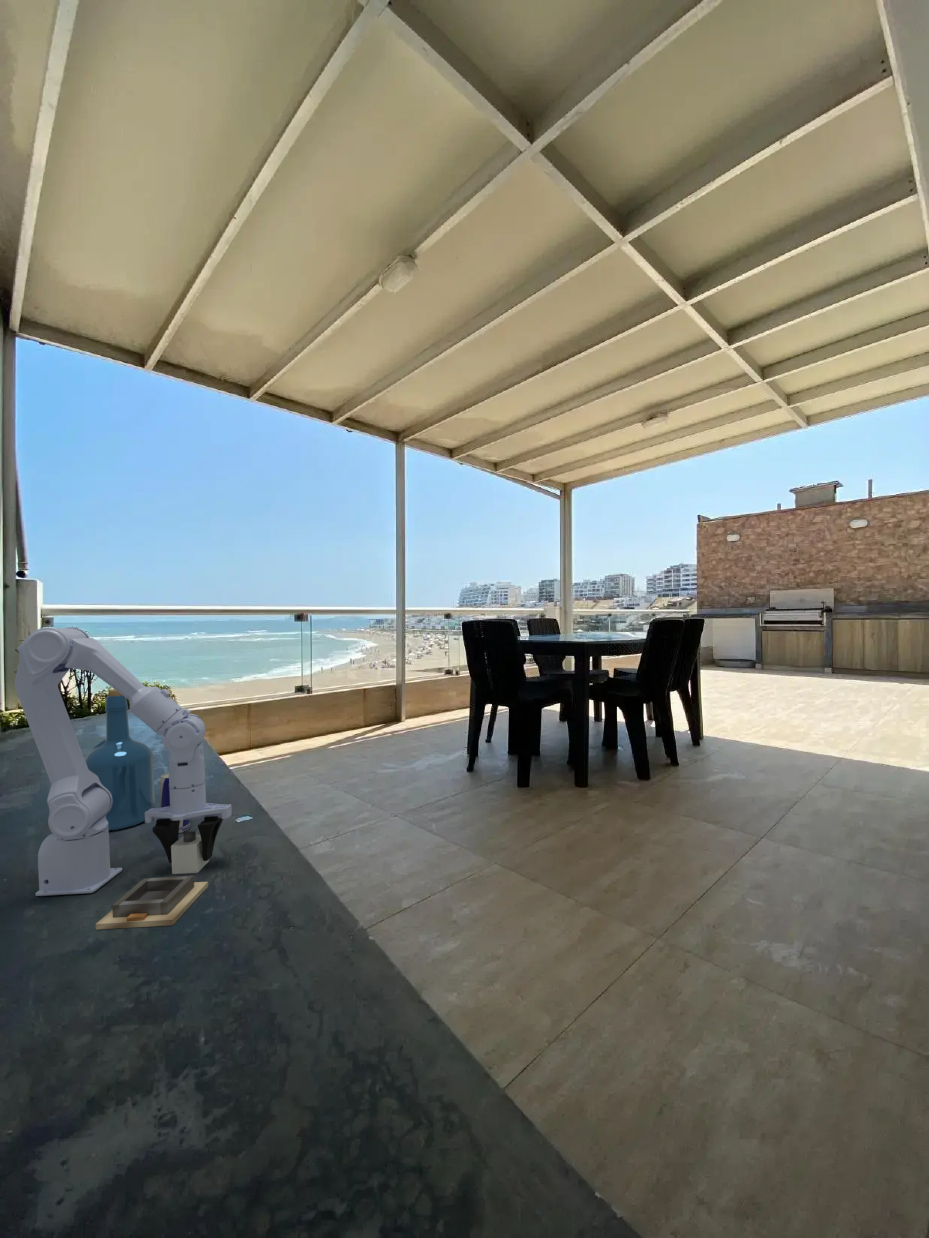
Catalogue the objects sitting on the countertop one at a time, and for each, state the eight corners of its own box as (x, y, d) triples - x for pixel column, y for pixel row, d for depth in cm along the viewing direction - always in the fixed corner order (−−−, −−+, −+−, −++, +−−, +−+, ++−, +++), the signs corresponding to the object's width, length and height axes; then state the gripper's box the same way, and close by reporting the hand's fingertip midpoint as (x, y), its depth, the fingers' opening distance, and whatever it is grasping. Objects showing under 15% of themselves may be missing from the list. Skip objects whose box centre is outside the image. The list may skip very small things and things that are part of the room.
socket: (95, 929, 76) (95, 911, 76) (141, 890, 87) (140, 874, 87) (172, 925, 76) (172, 907, 76) (208, 886, 87) (207, 870, 87)
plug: (172, 874, 92) (170, 837, 92) (185, 862, 96) (183, 827, 96) (197, 872, 92) (195, 836, 92) (209, 861, 96) (207, 826, 96)
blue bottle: (167, 816, 120) (161, 686, 120) (102, 838, 109) (96, 694, 109) (137, 807, 128) (131, 684, 128) (73, 826, 117) (67, 692, 117)
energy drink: (178, 836, 109) (175, 778, 109) (155, 834, 110) (153, 777, 110) (196, 825, 114) (193, 770, 114) (174, 824, 115) (172, 770, 115)
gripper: (133, 793, 90) (136, 872, 90) (218, 789, 90) (221, 867, 90) (156, 780, 97) (159, 853, 97) (235, 776, 97) (238, 849, 97)
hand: (190, 859), depth 94 cm, fingers open, 5 cm apart
